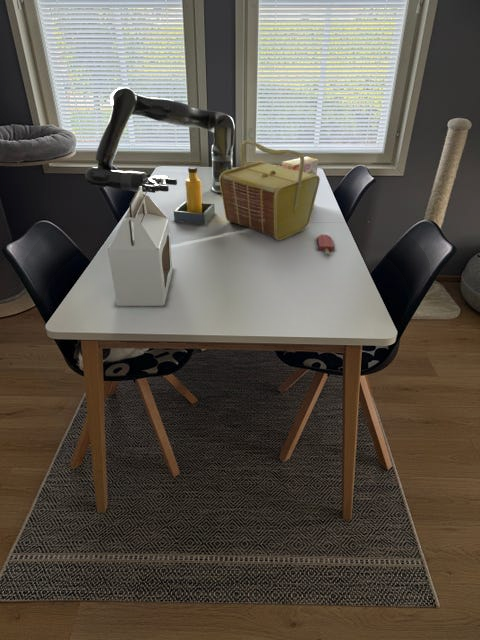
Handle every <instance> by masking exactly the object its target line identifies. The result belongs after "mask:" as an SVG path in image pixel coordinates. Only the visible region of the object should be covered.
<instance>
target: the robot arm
mask: <svg viewBox="0 0 480 640" xmlns="http://www.w3.org/2000/svg"><path fill="white" fill-rule="evenodd" d="M109 100H110V104H111V107H112V110H111V114H110V118H109V121H108V124H107V126H106V128H105V130H104V132H103V134H102V137H101V138H100V141H99V144H98V147H97V150H96V153H95V160H96V161H97V167H94V166H93V167H90V168H88V169H86V171H85V174H84V177H85V180H86V182H87V183H88V184H89V185H91V186H94V187H97V188H101V189H104V188H106V187H108V188H113V189H117V190H125V191H129V192H137V190H138V188H139V186H141V187H142V191H143V193H146V191H147V190H148V191H147V193H153V194H155V193H156V192H166V193H167V192H169V185H170V186H177V185H178V179H176V178H169V175H158V174H155V175H153V176H149V175H148V173H146V172H143V171H142V172H141V171H133V170H125V171H124V170H113V162H114V160H115V158H116V155H117V152H118V149H119V146H120V143H121V140H122V137H123V134H124V131H125V129H126V127H127V124H128V122H129V120H130V118H131V116H140V117H145V118H148V119H151V120H154V121H157V122H160V123H163V124H167V125H171V126H176V127H181V128H199V129H202V130H206V131H208V132H211V133H212V134H213V144H212V145H211V174H212V176H211V177H212V184H211V185H212V186H211V187H212V191H213V192H214V193H218V194H222V193H221V188H220V183H219V177H220V175H221V174H222V172H224V171H227V170H231V169H233V148H234V145H235V123H234V119H233V118H232V117H231V116H230V115H228V114H226V113H224V112H221V111H214V110H213V111H212V110H205V109H201V108H197V107H195V106H193V105H190V104H187V103H185V102H181V101H177V100H173V99H168V98H167V99H166V98H158V97H147V96H143V95H140V94H136V93H135V92H134V91H133V90H132V89H131V88H129V87H127V86H125V87H122V86H121V87H118V88H117V89H115V90H114V91H113V92H112V93H111V94H110V99H109ZM278 166H280V167H282V163H280V164H279V165H278Z"/></svg>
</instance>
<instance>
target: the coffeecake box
mask: <svg viewBox="0 0 480 640" xmlns="http://www.w3.org/2000/svg"><path fill="white" fill-rule="evenodd" d="M281 164H282V166H281V167H284V168H288V169H292V170H296V171H299V168H300V157H298V158H294V159H290V160H289V159H288V160H284V161H281ZM318 165H319V159H317V158H314V157H310V156H304V167H303V172H304V173H308V174H312V175H318V174H317V173H318Z"/></svg>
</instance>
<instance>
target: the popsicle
mask: <svg viewBox="0 0 480 640" xmlns="http://www.w3.org/2000/svg"><path fill="white" fill-rule="evenodd" d="M316 241H317V247H318V251H325V255H330V252H333V251H335V244H334V241H333V238H332V237H331V236H330V235H328V234H319V235H318V236H317V238H316Z"/></svg>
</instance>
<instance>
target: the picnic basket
mask: <svg viewBox="0 0 480 640" xmlns="http://www.w3.org/2000/svg"><path fill="white" fill-rule="evenodd" d="M246 144H247V145H252V146H254V147H256V149H258V150H259V151H261V152H264V153H266V154H268V155H269V154H270V155H274V156H275V155H276V156H277V155H278V156H280V155H281V156H283V155H285V154H290V155H296V156H298V158H300V168H299V171H296V170H292V169H288V168H284V167H282V166H279V165H276V164H272V163H269V162H264V161H262V160H261V161H260V160H259V161H256V162H252V163H248V164H245V145H246ZM304 157H305V156H304V155H303V154H302V153H301V152H300V151H296V150H292V149H272V148H269V147H266V146H264V145H262V144H260V143H257V142H255V141H250V140H243V141H241V143H240V166H238V167H235V168H232V169H231V170H227V171H224V172H222V174H221V175H220V177H219V183H220V188H221V193H220V194H221V199H222V203H223V204H222V205H223V210H224V215H225V219H226V221H227V222H228V223H233V224H235V225H236V224H237V225H239V226H242V227H244V228H248V229H249V230H253V231H256V232H259V233H261V234H264V235H266V236H269V237H272V238H275V240H277V241H281V240H282V241H283V240H285V239H286V238H289V237H291V236H293V235H295V234H298V233H300V232H302V231H304V230H305V229H306V228H307V227H308V225H309V223H310V221H311V217H312V213H313V208H314V205H315V201H316V197H317V193H318V190H319V187H320V186H319V185H320V180H321V179H320V176H319V175H318V174H317V175H312V174H308V173H304V172H303V167H304Z"/></svg>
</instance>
